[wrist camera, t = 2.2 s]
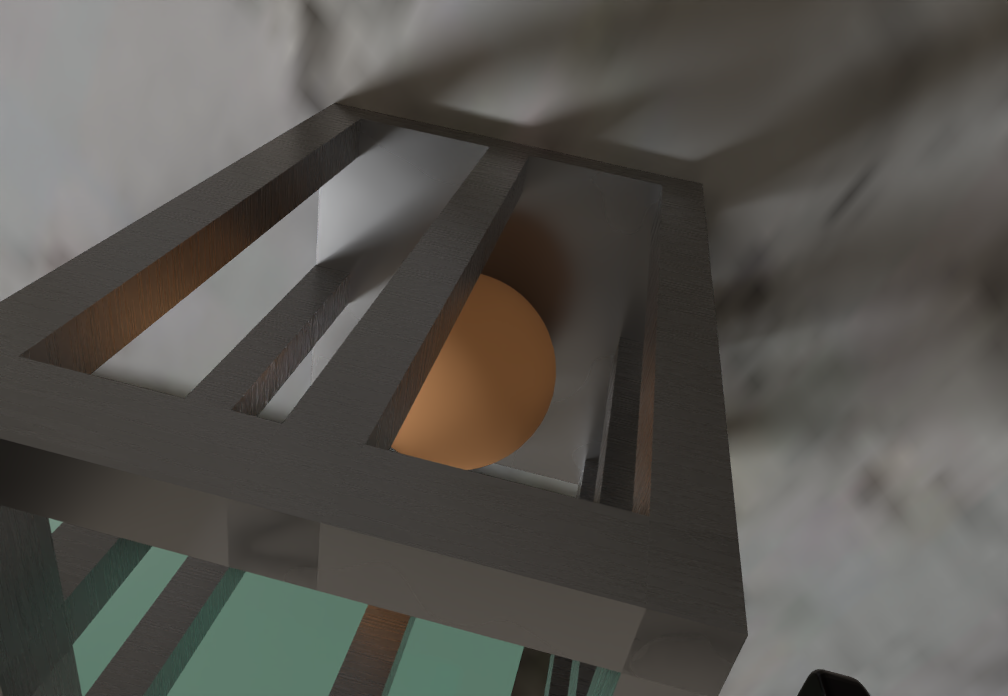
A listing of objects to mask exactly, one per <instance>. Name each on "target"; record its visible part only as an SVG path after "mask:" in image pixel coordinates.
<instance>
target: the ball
mask: <svg viewBox="0 0 1008 696" xmlns="http://www.w3.org/2000/svg"><path fill="white" fill-rule="evenodd" d="M555 380H556V360H555V353H554V348H553V345H552V341H551V338H550V335H549V332H548V330H547V328H546V326H545V324H544V322H543V320H542V319H541V317H540V316H539V314H538V313H537V311H536V310H535V309H534V308H533V306H532V305H531V304H530V303H529V302H528V301H527V300H526V299H525V298H524V297H523V296H522V295H521V294H520V293H519V292H517V291H516V290H514V289H513V288H512V287H510V286H508V285H507V284H505V283H503V282H501V281H499V280H497V279H495V278H492V277H490V276H486V275H483V274H480V276H479V278H478V280H477V282H476V284H475V285H474V287H473V289H472V291H471V293H470V295H469V297H468V299H467V301H466V303H465V305H464V307H463V309H462V311H461V313H460V314H459V316H458V318H457V320H456V322H455V324H454V326H453V328H452V330H451V332H450V334H449V336H448V338H447V340H446V341H445V343H444V345H443V347H442V349H441V351H440V353H439V355H438V357H437V359H436V361H435V363H434V365H433V367H432V368H431V370H430V372H429V374H428V376H427V378H426V380H425V382H424V384H423V386H422V388H421V390H420V392H419V394H418V396H417V397H416V399H415V401H414V403H413V405H412V407H411V409H410V411H409V413H408V415H407V417H406V419H405V421H404V423H403V424H402V426H401V428H400V430H399V432H398V434H397V436H396V438H395V440H394V442H393V444H392V446H391V447H392V448H393V449H395V450H396V451H397V452H399V453H401V454H405V455H409V456H413V457H417V458H421V459H425V460H429V461H432V462H436V463H440V464H444V465H448V466H452V467H456V468H460V469H464V470H471V469H476V468H480V467H484V466H487V465H490V464H493V463H495V462H498V461H500V460H501V459H503V458H505V457H507V456H509V455H510V454H512V453H513V452H515V451H516V450H517V449H519V448H520V447H521V446H522V445H523V444H524V443H525V442H526V441H527V440H528V439H529V438H530V437H531V436H532V435H533V434H534V432H535V431H536V430H537V428H538V427H539V425H540V424H541V422H542V421H543V419H544V417H545V415H546V413H547V411H548V408H549V406H550V403H551V400H552V397H553V393H554V387H555Z"/></svg>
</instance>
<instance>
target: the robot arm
mask: <svg viewBox="0 0 1008 696" xmlns="http://www.w3.org/2000/svg"><path fill="white" fill-rule="evenodd" d="M797 696H870V694H869V693H868V691H867V690H866V689H865V687H864V686H863V685H862V684H861V683H860V682H859V681H858V680H856V679H854V678H852V677H849V676H845V675H842V674H838V673H834V672H830V671H827V670H823V669H817V670H814V671H813V672H812V673H811V674H810V675H809V676H808V678H807V679H806V681H805V683H804V685H803V686H802V688H801V690H800V692H799V693H798V695H797Z"/></svg>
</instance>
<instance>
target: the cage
mask: <svg viewBox="0 0 1008 696" xmlns="http://www.w3.org/2000/svg"><path fill="white" fill-rule="evenodd" d="M318 189H319V208H318V231H317V255H316V265H315V266H314V267H313V268H312V269H311V270H310V271H309V272H308V273H307V275H306V276H305V277H304V278H303V279H302V280H301V281H300V282H299V283H298V284H297V285H296V286H295V287H294V288H293V289H292V290H291V291H290V292H289V293H288V294H287V295H286V296H285V297H284V298H283V299H282V300H281V301H280V302H279V303H278V304H277V305H276V306H275V307H274V308H273V309H272V310H271V311H270V312H269V313H268V314H267V315H266V316H265V317H264V318H263V319H262V320H261V321H260V322H259V323H258V324H257V325H256V326H255V327H254V328H253V329H252V330H251V331H250V332H249V333H248V334H247V336H246V337H245V338H244V339H243V340H242V341H241V342H240V343H239V344H238V345H237V346H236V347H235V348H234V349H233V350H232V351H231V352H230V353H229V354H228V355H227V356H226V357H225V358H224V359H223V360H222V361H221V362H220V363H219V364H218V365H217V366H216V367H215V368H214V369H213V370H212V371H211V372H210V373H209V374H208V375H207V376H206V377H205V378H204V379H203V380H202V381H201V382H200V383H199V384H198V385H197V386H196V387H195V388H194V389H193V390H192V391H191V392H190V393H189V394H188V395H187V397H186V398H185V399H184V398H180V397H176V396H172V395H169V394H165V393H161V392H157V391H153V390H149V389H145V388H141V387H137V386H133V385H129V384H125V383H121V382H117V381H113V380H109V379H105V378H102V377H98V376H94V375H90V374H91V373H93V372H94V371H95V370H96V369H97V368H99V367H100V366H101V365H102V364H104V363H105V362H106V361H107V360H109V359H110V358H111V357H112V356H113V355H115V354H116V353H117V352H118V351H120V350H121V349H122V348H123V347H125V346H126V345H127V344H128V343H130V342H131V341H132V340H133V339H134V338H136V337H137V336H138V335H139V334H141V333H142V332H143V331H144V330H146V329H147V328H148V327H149V326H150V325H152V324H153V323H154V322H155V321H157V320H158V319H159V318H160V317H162V316H163V315H164V314H165V313H166V312H168V311H169V310H170V309H171V308H173V307H174V306H175V305H176V304H178V303H179V302H180V301H181V300H183V299H184V298H185V297H186V296H187V295H189V294H190V293H191V292H192V291H194V290H195V289H196V288H197V287H199V286H200V285H201V284H202V283H203V282H205V281H206V280H207V279H208V278H210V277H211V276H212V275H213V274H215V273H216V272H217V271H218V270H220V269H221V268H222V267H223V266H224V265H226V264H227V263H228V262H229V261H231V260H232V259H233V258H234V257H236V256H237V255H238V254H239V253H240V252H242V251H243V250H244V249H245V248H247V247H248V246H249V245H250V244H252V243H253V242H254V241H255V240H257V239H258V238H259V237H260V236H261V235H263V234H264V233H265V232H266V231H268V230H269V229H270V228H271V227H273V226H274V225H275V224H276V223H277V222H279V221H280V220H281V219H282V218H284V217H285V216H286V215H287V214H289V213H290V212H291V211H292V210H294V209H295V208H296V207H297V206H298V205H300V204H301V203H302V202H303V201H305V200H306V199H307V198H308V197H310V196H311V195H312V194H313V193H314V192H316V191H317V190H318ZM480 274H483V275H486V276H490V277H492V278H495V279H497V280H499V281H501V282H503V283H505V284H507V285H508V286H510V287H512V288H513V289H514V290H516V291H517V292H519V293H520V294H521V295H522V296H523V297H524V298H525V299H526V300H527V301H528V302H529V303H530V304H531V305H532V306H533V308H534V309H535V310H536V311H537V313H538V314H539V316H540V317H541V319H542V320H543V322H544V324H545V326H546V328H547V330H548V332H549V335H550V338H551V341H552V345H553V348H554V353H555V360H556V380H555V387H554V393H553V397H552V400H551V403H550V406H549V408H548V411H547V413H546V415H545V417H544V419H543V421H542V422H541V424H540V425H539V427H538V428H537V430H536V431H535V432H534V434H533V435H532V436H531V437H530V438H529V439H528V440H527V441H526V442H525V443H524V444H523V445H522V446H521V447H520V448H519V449H517V450H516V451H515V452H513V453H512V454H510V455H509V456H507V457H505V458H503V459H501V460H500V461H498V462H495V464H499V465H503V466H507V467H511V468H515V469H519V470H523V471H527V472H531V473H535V474H539V475H543V476H547V477H551V478H555V479H559V480H563V481H566V482H570V483H574V484H578V491H577V497H576V498H574V497H570V496H566V495H562V494H559V493H555V492H551V491H547V490H543V489H539V488H535V487H531V486H527V485H523V484H519V483H515V482H511V481H507V480H503V479H499V478H496V477H492V476H488V475H484V474H480V473H476V472H472V471H469V470H464V469H460V468H456V467H452V466H448V465H444V464H440V463H436V462H432V461H429V460H425V459H421V458H417V457H413V456H409V455H405V454H401V453H397V452H393V451H389V450H390V448H391V446H392V444H393V442H394V440H395V438H396V436H397V434H398V432H399V430H400V428H401V426H402V424H403V423H404V421H405V419H406V417H407V415H408V413H409V411H410V409H411V407H412V405H413V403H414V401H415V399H416V397H417V396H418V394H419V392H420V390H421V388H422V386H423V384H424V382H425V380H426V378H427V376H428V374H429V372H430V370H431V368H432V367H433V365H434V363H435V361H436V359H437V357H438V355H439V353H440V351H441V349H442V347H443V345H444V343H445V341H446V340H447V338H448V336H449V334H450V332H451V330H452V328H453V326H454V324H455V322H456V320H457V318H458V316H459V314H460V313H461V311H462V309H463V307H464V305H465V303H466V301H467V299H468V297H469V295H470V293H471V291H472V289H473V287H474V285H475V284H476V282H477V280H478V278H479V276H480ZM312 348H313V349H312ZM311 349H312V373H311V386H310V387H309V389H308V390H307V391H306V393H305V394H304V396H303V397H302V398H301V400H300V401H299V402H298V404H297V405H296V406H295V408H294V409H293V410H292V412H291V413H290V414H289V416H288V417H287V418H286V420H285V421H284V422H283V423H279V422H275V421H271V420H267V419H263V418H259V417H257V416H258V415H259V414H260V412H261V411H262V410H263V409H264V408H265V406H266V405H267V404H268V403H269V401H270V400H271V399H272V398H273V396H274V395H275V394H276V393H277V391H278V390H279V389H280V388H281V386H282V385H283V384H284V383H285V382H286V380H287V379H288V378H289V377H290V375H291V374H292V373H293V372H294V370H295V369H296V368H297V367H298V365H299V364H300V363H301V362H302V360H303V359H304V358H305V357H306V356H307V354H308V353H309V352H310V351H311ZM49 518H50V519H54V520H57V521H61V522H63V523H62V524H61V525H60V526H59V527H58V528H57V529H56V530H55V531H54V532H53V533H51V528H50V523H49ZM152 546H154V547H157V548H161V549H165V550H168V551H172V552H176V553H179V554H183V555H187V556H188V557H187V558H186V560H185V561H184V562H183V564H182V565H181V567H180V568H179V569H178V571H177V572H176V573H175V575H174V576H173V577H172V579H171V580H170V581H169V583H168V584H167V585H166V587H165V588H164V589H163V591H162V592H161V594H160V595H159V596H158V598H157V599H156V600H155V602H154V603H153V604H152V606H151V607H150V608H149V610H148V611H147V612H146V614H145V615H144V616H143V618H142V619H141V620H140V622H139V623H138V625H137V626H136V627H135V629H134V630H133V631H132V633H131V634H130V635H129V637H128V638H127V639H126V641H125V642H124V643H123V645H122V646H121V647H120V649H119V650H118V652H117V653H116V654H115V656H114V657H113V658H112V660H111V661H110V662H109V664H108V665H107V666H106V668H105V669H104V670H103V672H102V673H101V674H100V676H99V677H98V679H97V680H96V681H95V683H94V684H93V685H92V687H91V688H90V689H89V691H88V692H87V693H86V695H85V696H167V695H168V693H169V691H170V690H171V688H172V687H173V685H174V684H175V682H176V680H177V679H178V677H179V676H180V674H181V673H182V671H183V670H184V668H185V666H186V665H187V663H188V662H189V660H190V659H191V657H192V655H193V654H194V652H195V651H196V649H197V648H198V646H199V644H200V643H201V641H202V640H203V638H204V637H205V635H206V633H207V632H208V630H209V629H210V627H211V626H212V624H213V622H214V621H215V619H216V618H217V616H218V615H219V613H220V612H221V610H222V608H223V607H224V605H225V604H226V602H227V601H228V599H229V597H230V596H231V594H232V593H233V591H234V590H235V588H236V586H237V585H238V583H239V582H240V580H241V579H242V577H243V575H244V574H245V572H250V573H253V574H257V575H261V576H265V577H268V578H272V579H276V580H279V581H283V582H287V583H291V584H294V585H298V586H302V587H305V588H309V589H313V590H316V591H320V592H324V593H328V594H331V595H335V596H339V597H342V598H346V599H350V600H353V601H357V602H361V603H365V604H368V606H367V608H366V611H365V613H364V615H363V617H362V620H361V622H360V624H359V627H358V629H357V631H356V634H355V636H354V638H353V640H352V643H351V645H350V647H349V650H348V652H347V654H346V657H345V659H344V661H343V663H342V666H341V668H340V670H339V673H338V675H337V677H336V680H335V682H334V684H333V686H332V689H331V691H330V693H329V696H388V694H389V691H390V688H391V686H392V683H393V680H394V677H395V675H396V672H397V669H398V666H399V663H400V661H401V658H402V655H403V652H404V650H405V647H406V644H407V641H408V638H409V636H410V633H411V630H412V627H413V624H414V622H415V619H416V618H420V619H424V620H427V621H431V622H435V623H439V624H442V625H446V626H450V627H453V628H457V629H461V630H464V631H468V632H472V633H476V634H479V635H483V636H487V637H490V638H494V639H498V640H501V641H505V642H509V643H513V644H516V645H520V646H524V647H527V648H531V649H535V650H538V651H542V652H546V653H550V654H551V657H550V663H549V669H548V675H547V681H546V687H545V694H544V696H718V695H719V693H720V691H721V689H722V687H723V685H724V683H725V681H726V679H727V677H728V675H729V673H730V671H731V668H732V666H733V664H734V662H735V660H736V658H737V656H738V654H739V652H740V650H741V648H742V646H743V644H744V642H745V640H746V638H747V636H748V631H747V621H746V612H745V602H744V592H743V582H742V572H741V562H740V552H739V543H738V533H737V523H736V513H735V503H734V493H733V483H732V473H731V464H730V454H729V444H728V434H727V424H726V414H725V404H724V395H723V385H722V375H721V365H720V355H719V345H718V335H717V325H716V316H715V306H714V296H713V286H712V276H711V266H710V256H709V246H708V237H707V227H706V217H705V207H704V197H703V187H702V184H700V183H695V182H691V181H686V180H682V179H677V178H672V177H668V176H663V175H659V174H654V173H650V172H645V171H641V170H636V169H632V168H627V167H622V166H618V165H613V164H609V163H604V162H600V161H595V160H591V159H586V158H581V157H577V156H572V155H568V154H563V153H559V152H554V151H550V150H545V149H540V148H536V147H531V146H527V145H522V144H518V143H513V142H509V141H504V140H500V139H495V138H490V137H486V136H481V135H477V134H472V133H468V132H463V131H459V130H454V129H449V128H445V127H440V126H436V125H431V124H427V123H422V122H418V121H413V120H409V119H404V118H399V117H395V116H390V115H386V114H381V113H377V112H372V111H368V110H363V109H358V108H354V107H349V106H345V105H340V104H336V103H334V104H332V105H330V106H329V107H327V108H325V109H324V110H322V111H320V112H319V113H317V114H315V115H314V116H312V117H310V118H309V119H307V120H305V121H304V122H302V123H300V124H298V125H297V126H295V127H293V128H292V129H290V130H288V131H287V132H285V133H283V134H282V135H280V136H278V137H277V138H275V139H273V140H272V141H270V142H268V143H267V144H265V145H263V146H262V147H260V148H258V149H256V150H255V151H253V152H251V153H250V154H248V155H246V156H245V157H243V158H241V159H240V160H238V161H236V162H235V163H233V164H231V165H230V166H228V167H226V168H225V169H223V170H221V171H219V172H218V173H216V174H214V175H213V176H211V177H209V178H208V179H206V180H204V181H203V182H201V183H199V184H198V185H196V186H194V187H193V188H191V189H189V190H188V191H186V192H184V193H183V194H181V195H179V196H177V197H176V198H174V199H172V200H171V201H169V202H167V203H166V204H164V205H162V206H161V207H159V208H157V209H156V210H154V211H152V212H151V213H149V214H147V215H146V216H144V217H142V218H141V219H139V220H137V221H135V222H134V223H132V224H130V225H129V226H127V227H125V228H124V229H122V230H120V231H119V232H117V233H115V234H114V235H112V236H110V237H109V238H107V239H105V240H104V241H102V242H100V243H99V244H97V245H95V246H93V247H92V248H90V249H88V250H87V251H85V252H83V253H82V254H80V255H78V256H77V257H75V258H73V259H72V260H70V261H68V262H67V263H65V264H63V265H62V266H60V267H58V268H56V269H55V270H53V271H51V272H50V273H48V274H46V275H45V276H43V277H41V278H40V279H38V280H36V281H35V282H33V283H31V284H30V285H28V286H26V287H25V288H23V289H21V290H20V291H18V292H16V293H14V294H13V295H11V296H9V297H8V298H6V299H4V300H3V301H1V302H0V696H82V692H81V687H80V682H79V676H78V671H77V666H76V660H75V655H74V650H73V644H74V643H75V641H76V640H77V639H78V638H79V636H80V635H81V634H82V633H83V631H84V630H85V629H86V628H87V627H88V625H89V624H90V623H91V622H92V620H93V619H94V618H95V617H96V615H97V614H98V613H99V612H100V610H101V609H102V608H103V607H104V606H105V604H106V603H107V602H108V601H109V599H110V598H111V597H112V596H113V594H114V593H115V592H116V591H117V589H118V588H119V587H120V586H121V584H122V583H123V582H124V581H125V580H126V578H127V577H128V576H129V575H130V573H131V572H132V571H133V570H134V568H135V567H136V566H137V565H138V563H139V562H140V561H141V560H142V558H143V557H144V556H145V555H146V554H147V552H148V551H149V550H150V549H151V547H152Z"/></svg>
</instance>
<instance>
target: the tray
mask: <svg viewBox="0 0 1008 696" xmlns="http://www.w3.org/2000/svg"><path fill="white" fill-rule="evenodd" d="M49 523H50V528H51V533H53V532H54V531H55V530H56V529H57V528H58V527H59V526H60V525H61V524H62V523H63V522H61V521H57V520H54V519H50V518H49ZM187 557H188V556H187V555H183V554H179V553H176V552H172V551H168V550H165V549H161V548H157V547H154V546H152V547H151V549H150V550H149V551H148V552H147V554H146V555H145V556H144V557H143V558H142V560H141V561H140V562H139V563H138V565H137V566H136V567H135V568H134V570H133V571H132V572H131V573H130V575H129V576H128V577H127V578H126V580H125V581H124V582H123V583H122V584H121V586H120V587H119V588H118V589H117V591H116V592H115V593H114V594H113V596H112V597H111V598H110V599H109V601H108V602H107V603H106V604H105V606H104V607H103V608H102V609H101V610H100V612H99V613H98V614H97V615H96V617H95V618H94V619H93V620H92V622H91V623H90V624H89V625H88V627H87V628H86V629H85V630H84V631H83V633H82V634H81V635H80V636H79V638H78V639H77V640H76V641H75V643H74V644H73V650H74V655H75V660H76V666H77V671H78V676H79V682H80V687H81V692H82V696H85V695H86V693H87V692H88V691H89V689H90V688H91V687H92V685H93V684H94V683H95V681H96V680H97V679H98V677H99V676H100V674H101V673H102V672H103V670H104V669H105V668H106V666H107V665H108V664H109V662H110V661H111V660H112V658H113V657H114V656H115V654H116V653H117V652H118V650H119V649H120V647H121V646H122V645H123V643H124V642H125V641H126V639H127V638H128V637H129V635H130V634H131V633H132V631H133V630H134V629H135V627H136V626H137V625H138V623H139V622H140V620H141V619H142V618H143V616H144V615H145V614H146V612H147V611H148V610H149V608H150V607H151V606H152V604H153V603H154V602H155V600H156V599H157V598H158V596H159V595H160V594H161V592H162V591H163V589H164V588H165V587H166V585H167V584H168V583H169V581H170V580H171V579H172V577H173V576H174V575H175V573H176V572H177V571H178V569H179V568H180V567H181V565H182V564H183V562H184V561H185V560H186V558H187ZM367 606H368V604H365V603H361V602H357V601H353V600H350V599H346V598H342V597H339V596H335V595H331V594H328V593H324V592H320V591H316V590H313V589H309V588H305V587H302V586H298V585H294V584H291V583H287V582H283V581H279V580H276V579H272V578H268V577H265V576H261V575H257V574H253V573H250V572H245V574H244V575H243V577H242V579H241V580H240V582H239V583H238V585H237V586H236V588H235V590H234V591H233V593H232V594H231V596H230V597H229V599H228V601H227V602H226V604H225V605H224V607H223V608H222V610H221V612H220V613H219V615H218V616H217V618H216V619H215V621H214V622H213V624H212V626H211V627H210V629H209V630H208V632H207V633H206V635H205V637H204V638H203V640H202V641H201V643H200V644H199V646H198V648H197V649H196V651H195V652H194V654H193V655H192V657H191V659H190V660H189V662H188V663H187V665H186V666H185V668H184V670H183V671H182V673H181V674H180V676H179V677H178V679H177V680H176V682H175V684H174V685H173V687H172V688H171V690H170V691H169V693H168V695H167V696H329V693H330V691H331V689H332V686H333V684H334V682H335V680H336V677H337V675H338V673H339V670H340V668H341V666H342V663H343V661H344V659H345V657H346V654H347V652H348V650H349V647H350V645H351V643H352V640H353V638H354V636H355V634H356V631H357V629H358V627H359V624H360V622H361V620H362V617H363V615H364V613H365V611H366V608H367ZM523 648H524V646H520V645H516V644H513V643H509V642H505V641H501V640H498V639H494V638H490V637H487V636H483V635H479V634H476V633H472V632H468V631H464V630H461V629H457V628H453V627H450V626H446V625H442V624H439V623H435V622H431V621H427V620H424V619H420V618H416V619H415V622H414V624H413V627H412V630H411V633H410V636H409V638H408V641H407V644H406V647H405V650H404V652H403V655H402V658H401V661H400V663H399V666H398V669H397V672H396V675H395V677H394V680H393V683H392V686H391V688H390V691H389V694H388V696H511V693H512V689H513V685H514V682H515V678H516V674H517V671H518V667H519V663H520V659H521V656H522V652H523Z"/></svg>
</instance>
